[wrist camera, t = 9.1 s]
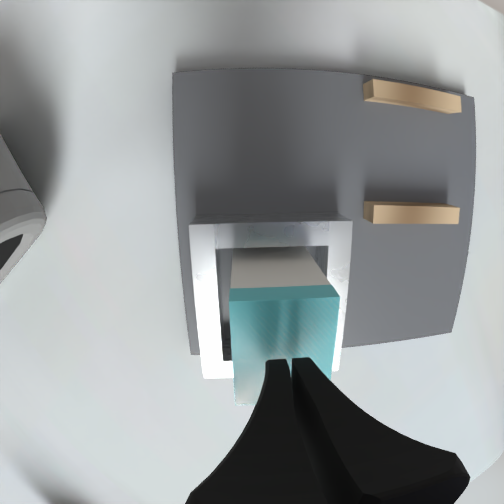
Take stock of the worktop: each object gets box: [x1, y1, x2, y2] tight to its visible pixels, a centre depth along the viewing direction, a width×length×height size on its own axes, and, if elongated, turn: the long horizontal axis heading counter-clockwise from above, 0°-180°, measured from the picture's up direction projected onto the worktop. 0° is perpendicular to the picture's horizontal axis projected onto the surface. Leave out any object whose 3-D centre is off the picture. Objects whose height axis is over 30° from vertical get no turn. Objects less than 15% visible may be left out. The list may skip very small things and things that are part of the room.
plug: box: [229, 246, 340, 405], centre depth 16 cm, size 4×5×7 cm
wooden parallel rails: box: [363, 79, 461, 224], centre depth 16 cm, size 6×8×2 cm
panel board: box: [172, 68, 476, 355], centre depth 18 cm, size 19×17×1 cm
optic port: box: [189, 212, 353, 378], centre depth 18 cm, size 8×9×2 cm
